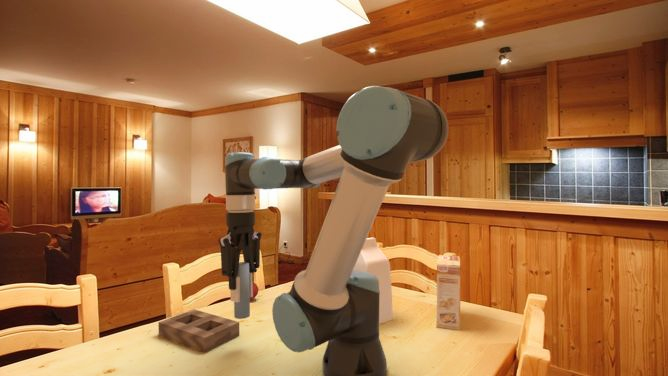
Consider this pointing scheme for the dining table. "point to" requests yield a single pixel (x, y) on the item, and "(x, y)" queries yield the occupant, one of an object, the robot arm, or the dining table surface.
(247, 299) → the peg
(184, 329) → the socket board
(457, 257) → the coffeecake box
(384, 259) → the milk
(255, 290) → the onion
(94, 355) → the dining table surface
